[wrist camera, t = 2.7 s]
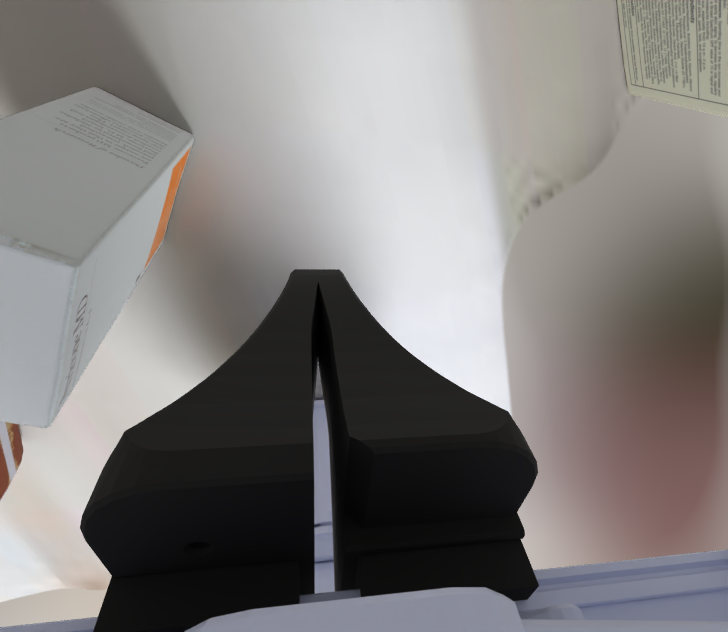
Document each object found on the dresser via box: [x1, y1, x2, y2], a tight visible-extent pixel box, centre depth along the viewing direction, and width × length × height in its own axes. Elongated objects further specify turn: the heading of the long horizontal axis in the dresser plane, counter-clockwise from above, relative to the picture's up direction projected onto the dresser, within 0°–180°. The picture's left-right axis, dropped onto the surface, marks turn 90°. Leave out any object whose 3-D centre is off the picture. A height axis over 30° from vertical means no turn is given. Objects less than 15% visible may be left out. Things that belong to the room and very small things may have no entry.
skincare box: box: [0, 87, 194, 428], centre depth 14 cm, size 6×4×12 cm
